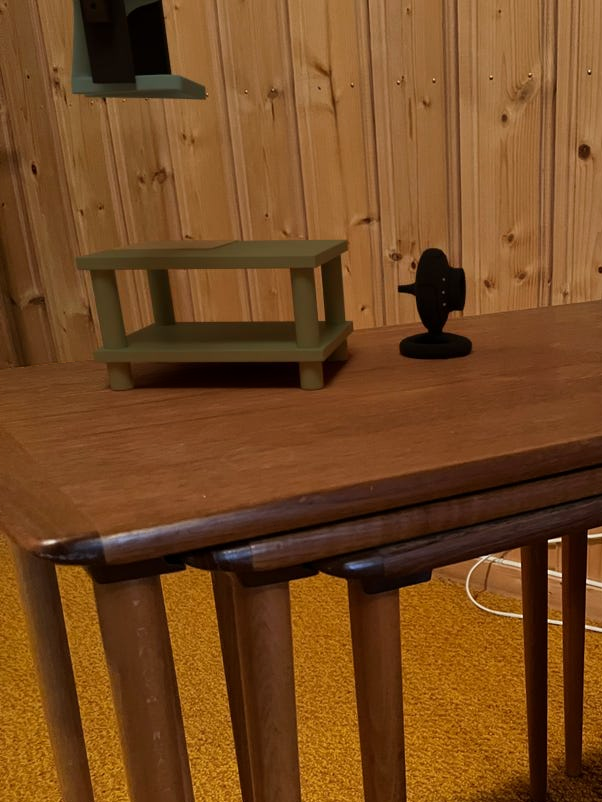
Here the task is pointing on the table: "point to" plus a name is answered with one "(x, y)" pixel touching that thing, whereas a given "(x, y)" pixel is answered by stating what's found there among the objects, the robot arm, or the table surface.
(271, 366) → the table surface
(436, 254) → the webcam
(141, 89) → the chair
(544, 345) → the table surface
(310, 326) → the shelf
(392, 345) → the table surface
